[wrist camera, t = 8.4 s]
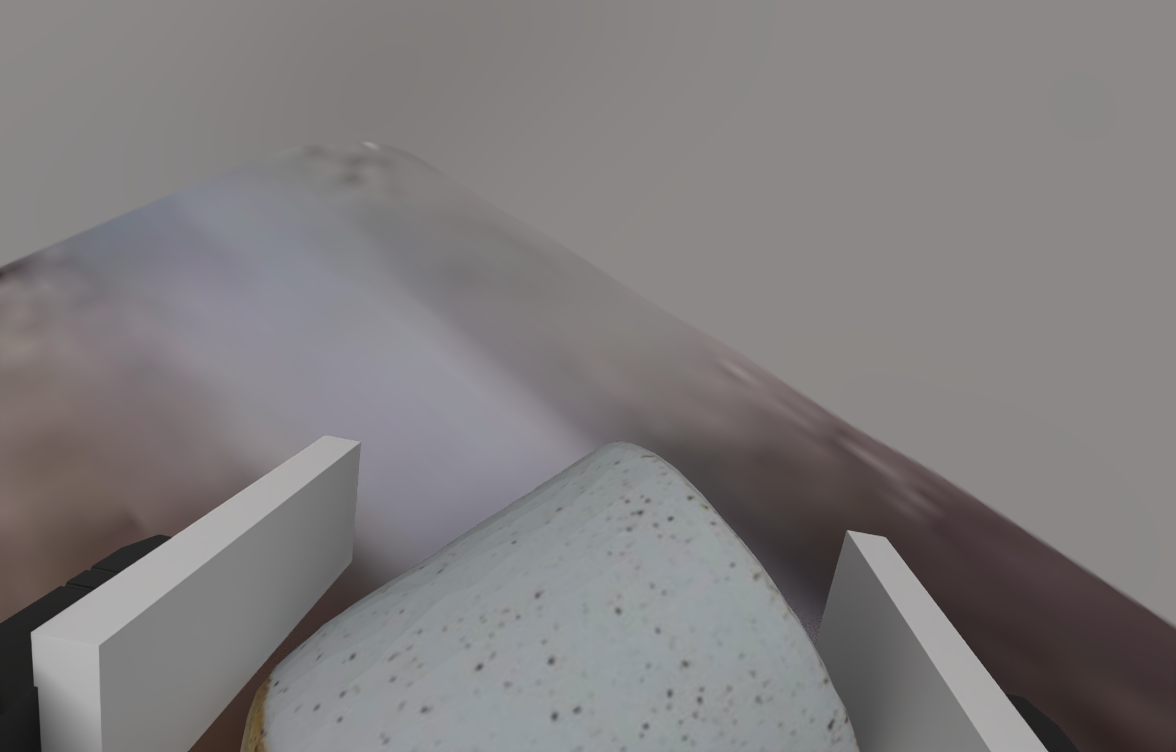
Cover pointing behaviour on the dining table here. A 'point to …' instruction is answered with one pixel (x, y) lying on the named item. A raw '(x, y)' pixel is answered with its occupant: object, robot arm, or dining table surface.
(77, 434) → the dining table surface
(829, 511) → the dining table surface
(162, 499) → the dining table surface
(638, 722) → the ceramic mug
